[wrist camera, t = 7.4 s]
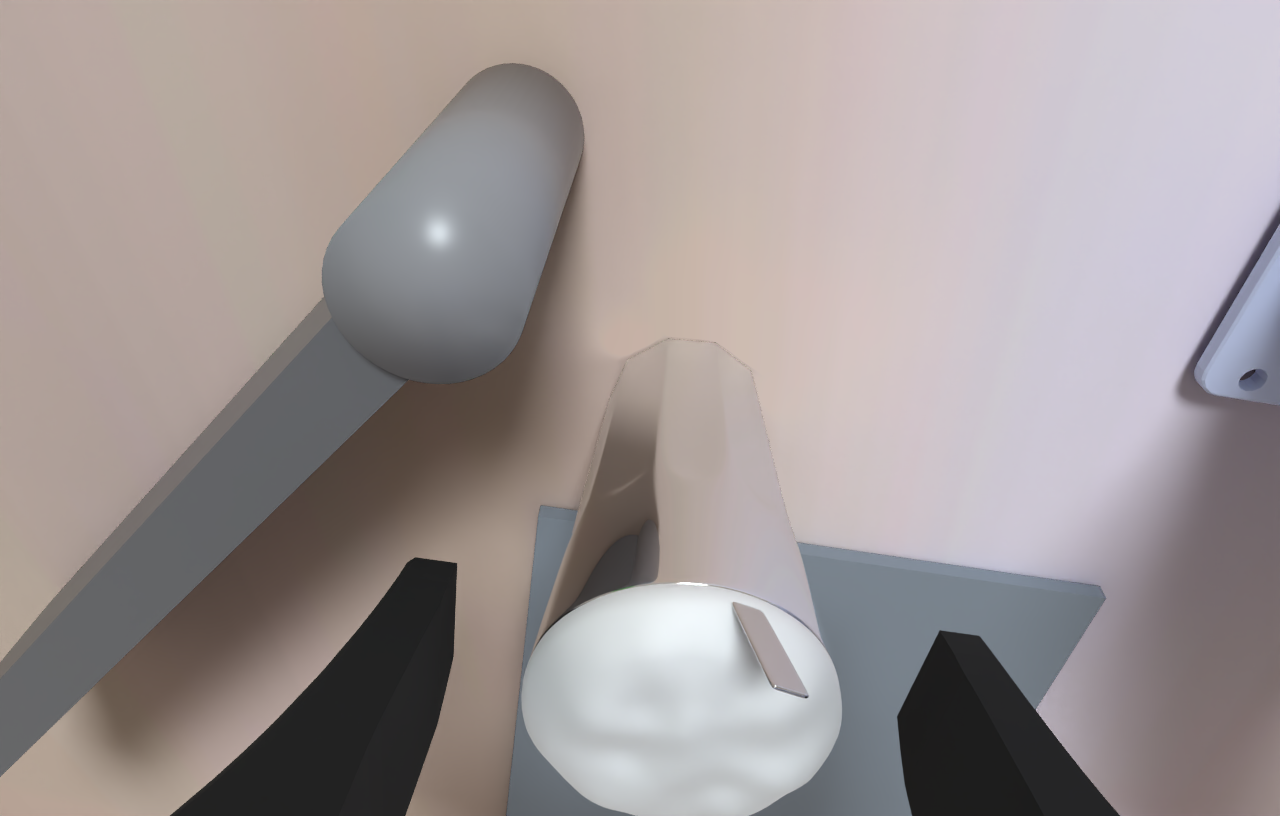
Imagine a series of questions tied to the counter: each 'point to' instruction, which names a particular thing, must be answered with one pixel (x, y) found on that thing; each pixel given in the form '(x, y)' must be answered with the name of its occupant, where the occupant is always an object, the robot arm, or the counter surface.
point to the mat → (853, 662)
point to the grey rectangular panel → (328, 372)
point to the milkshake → (682, 607)
